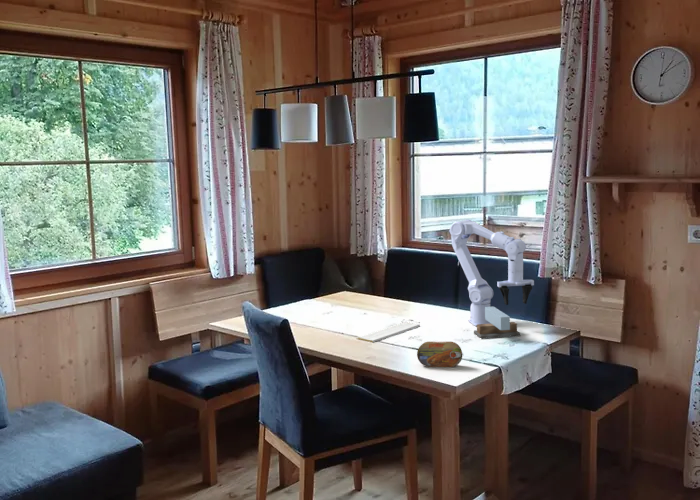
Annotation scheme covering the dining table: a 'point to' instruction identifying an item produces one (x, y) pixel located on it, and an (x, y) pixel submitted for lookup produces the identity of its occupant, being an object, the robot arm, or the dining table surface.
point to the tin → (439, 354)
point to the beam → (497, 318)
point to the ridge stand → (496, 331)
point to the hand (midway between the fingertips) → (515, 303)
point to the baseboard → (388, 332)
